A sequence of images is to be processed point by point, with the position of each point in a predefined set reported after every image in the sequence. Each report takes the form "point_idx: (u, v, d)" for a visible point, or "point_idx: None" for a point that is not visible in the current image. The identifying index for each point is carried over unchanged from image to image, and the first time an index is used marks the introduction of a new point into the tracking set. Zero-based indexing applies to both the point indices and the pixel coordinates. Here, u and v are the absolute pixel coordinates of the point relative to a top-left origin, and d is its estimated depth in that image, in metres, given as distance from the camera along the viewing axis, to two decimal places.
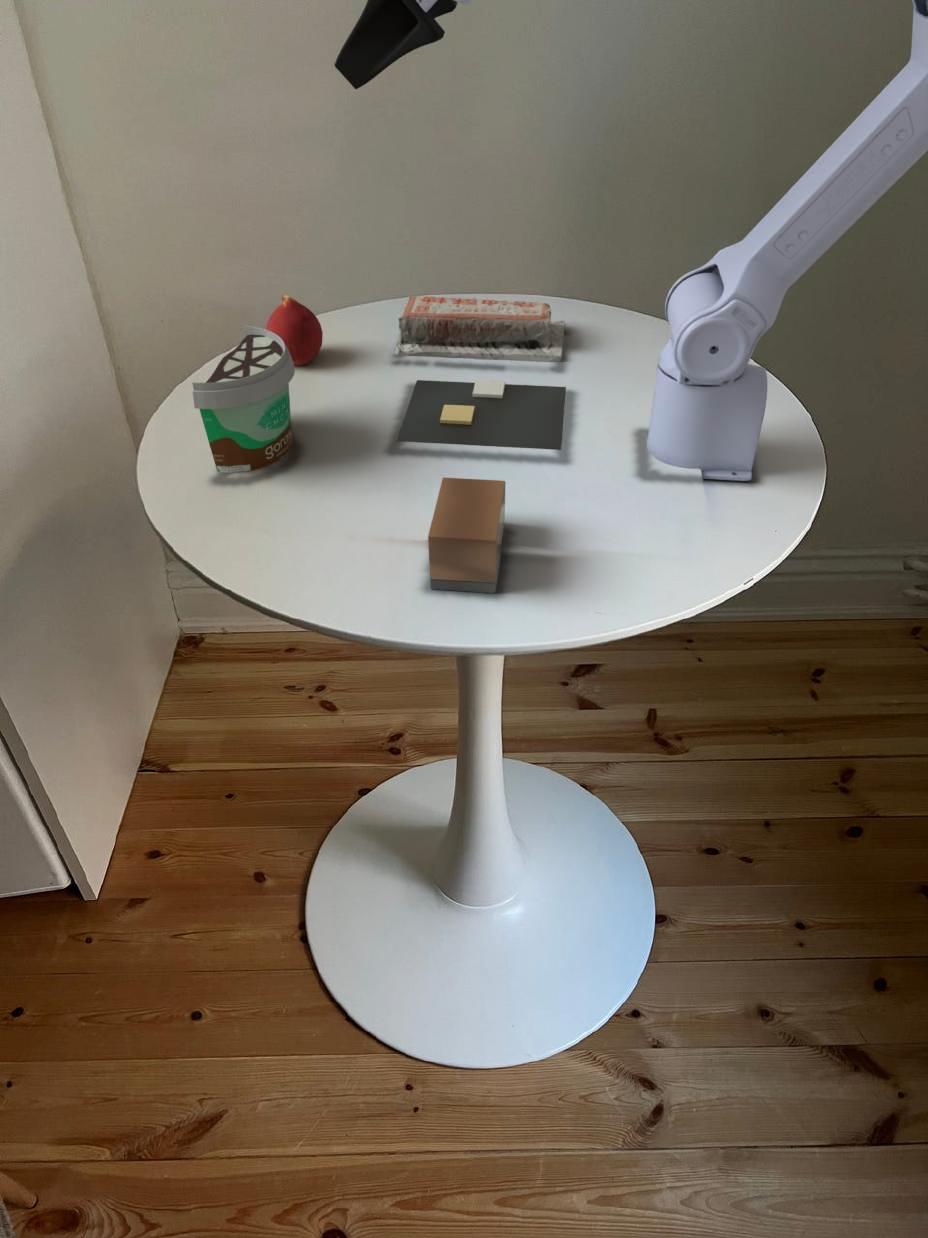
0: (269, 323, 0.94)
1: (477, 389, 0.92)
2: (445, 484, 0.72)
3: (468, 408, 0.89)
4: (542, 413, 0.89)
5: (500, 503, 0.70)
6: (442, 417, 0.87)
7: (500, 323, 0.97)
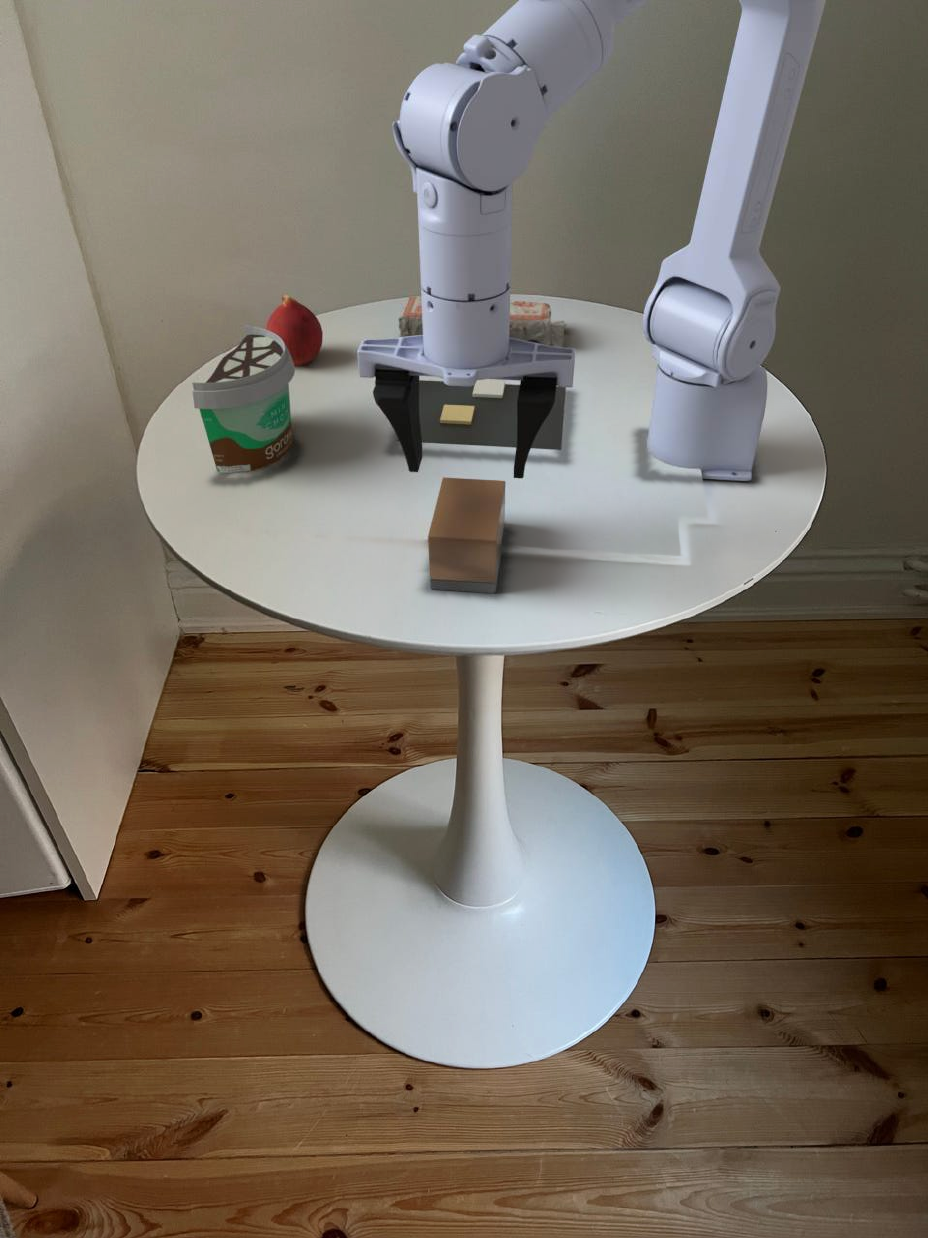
0: (269, 323, 0.94)
1: (477, 389, 0.92)
2: (445, 484, 0.72)
3: (468, 408, 0.89)
4: None
5: (500, 503, 0.70)
6: (442, 417, 0.87)
7: None
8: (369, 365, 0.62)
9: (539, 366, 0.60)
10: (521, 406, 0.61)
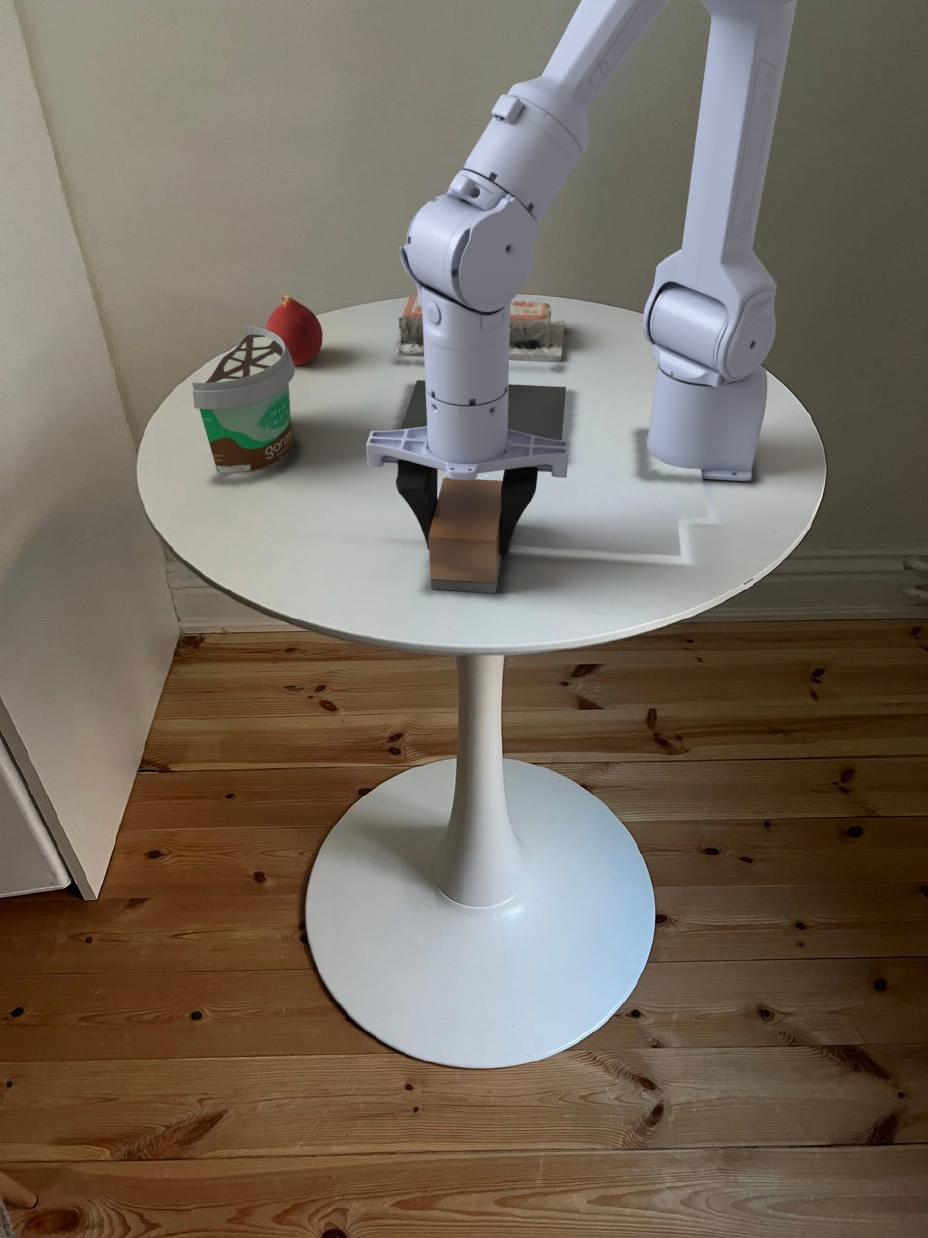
0: (269, 323, 0.94)
1: None
2: (446, 484, 0.72)
3: None
4: (542, 413, 0.89)
5: None
6: None
7: None
8: (377, 456, 0.67)
9: (535, 459, 0.65)
10: (504, 495, 0.65)
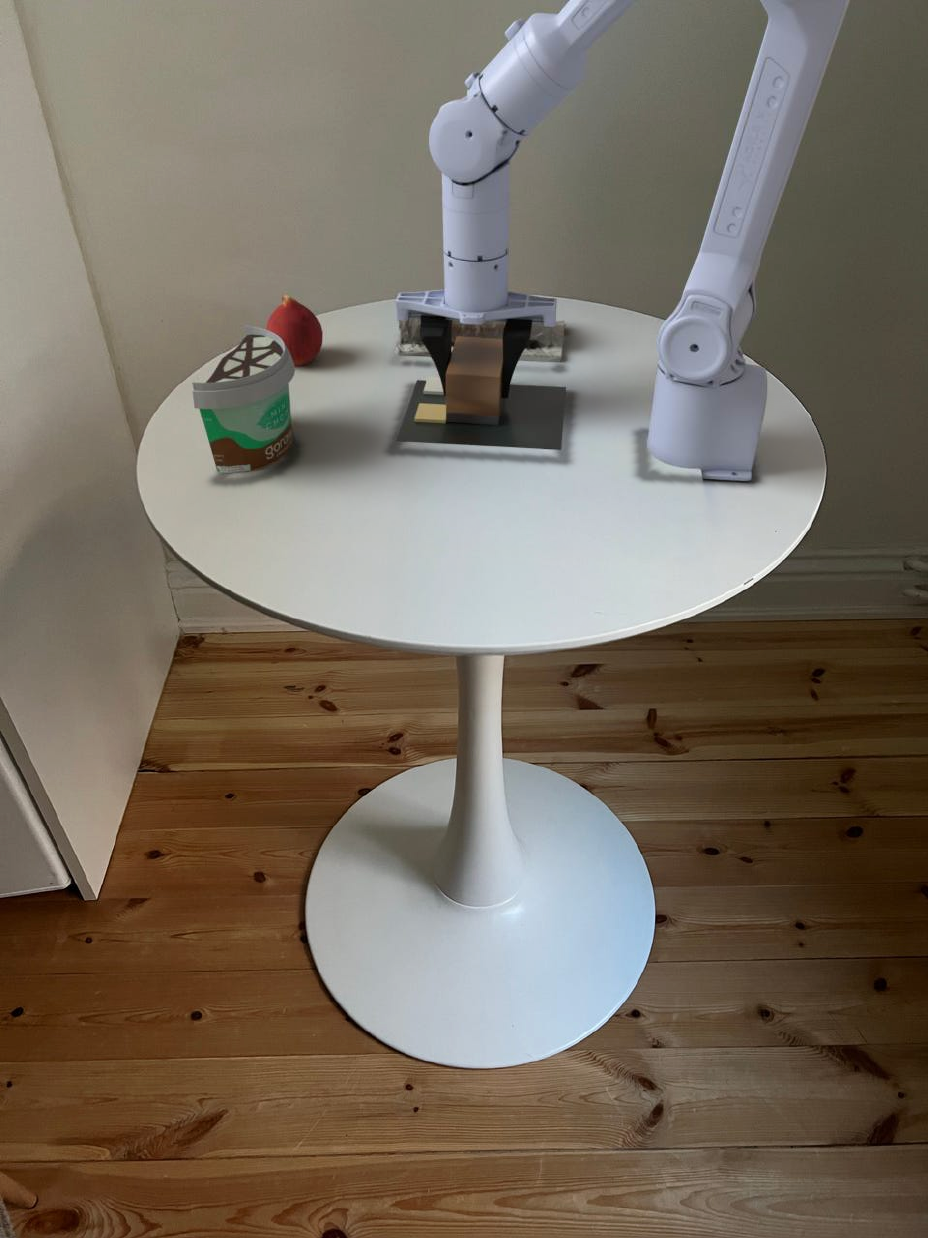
0: (269, 323, 0.94)
1: (428, 386, 0.92)
2: (459, 340, 0.89)
3: (443, 407, 0.89)
4: (542, 413, 0.89)
5: None
6: (416, 416, 0.88)
7: (500, 323, 0.97)
8: (404, 311, 0.84)
9: (530, 310, 0.82)
10: (505, 340, 0.82)
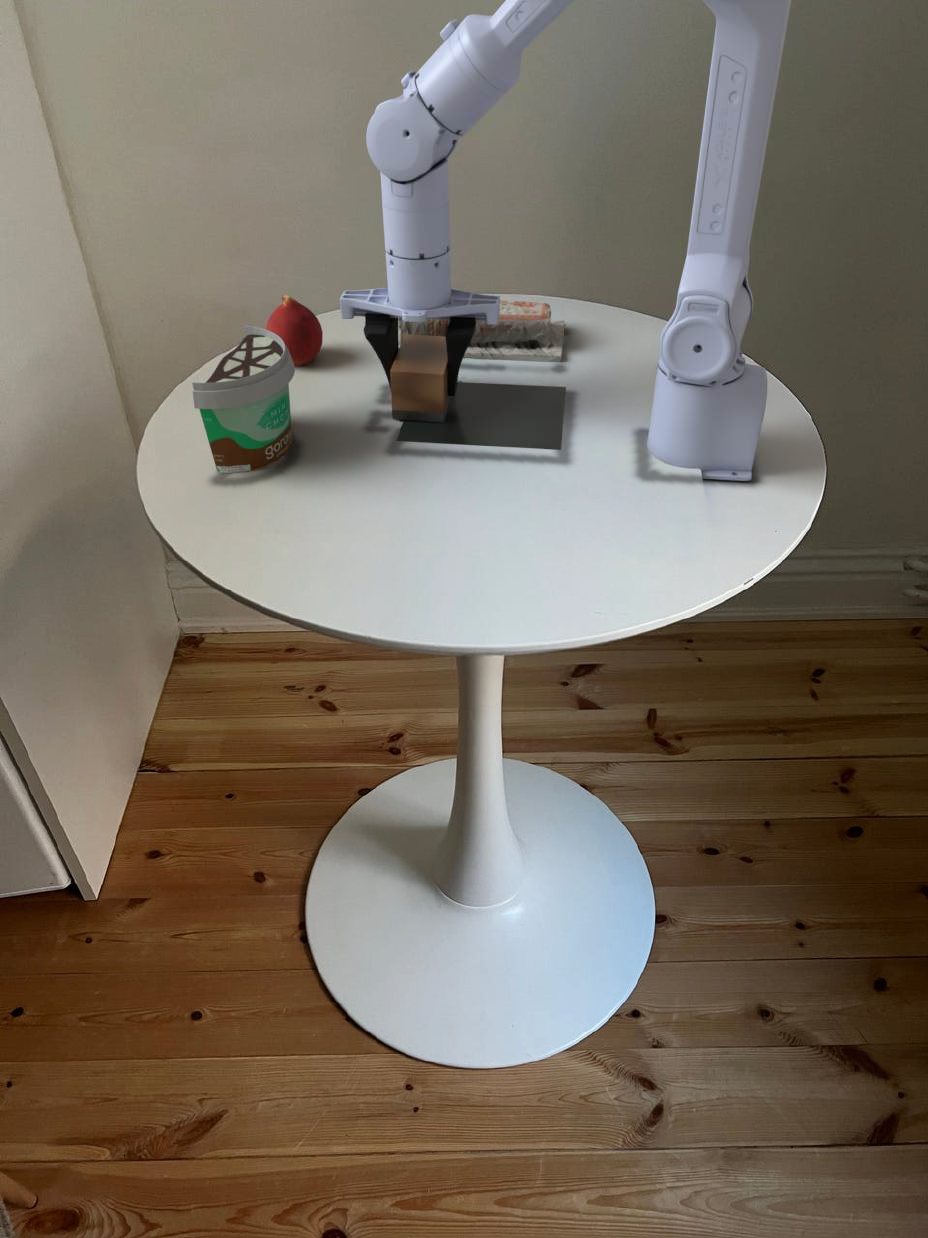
0: (269, 323, 0.94)
1: None
2: (406, 338, 0.90)
3: None
4: (542, 413, 0.89)
5: None
6: None
7: (500, 323, 0.97)
8: (348, 309, 0.84)
9: (472, 308, 0.82)
10: (448, 337, 0.83)
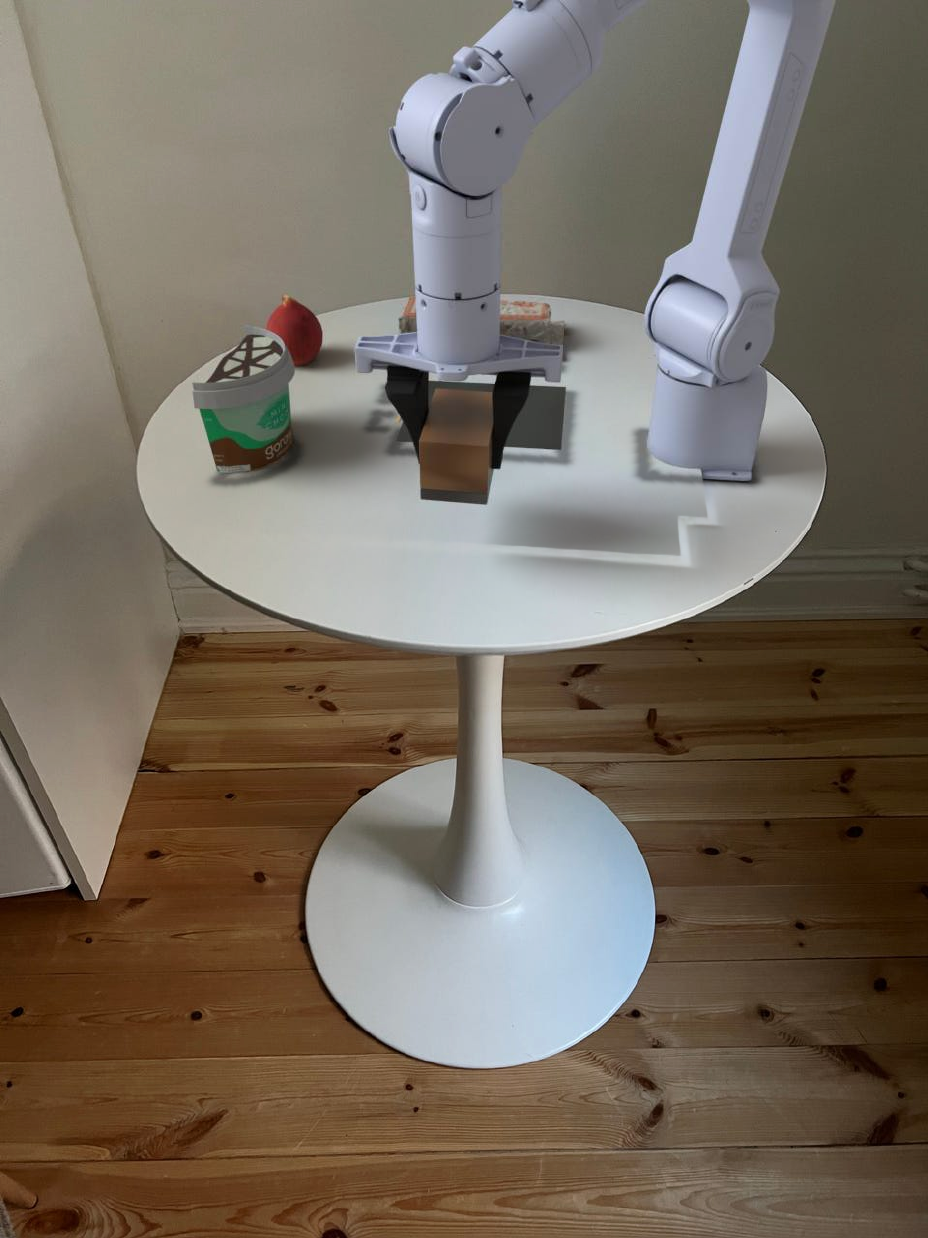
0: (269, 323, 0.94)
1: None
2: (438, 394, 0.70)
3: None
4: (542, 413, 0.89)
5: None
6: None
7: (500, 323, 0.97)
8: (366, 361, 0.65)
9: (528, 362, 0.63)
10: (496, 399, 0.63)
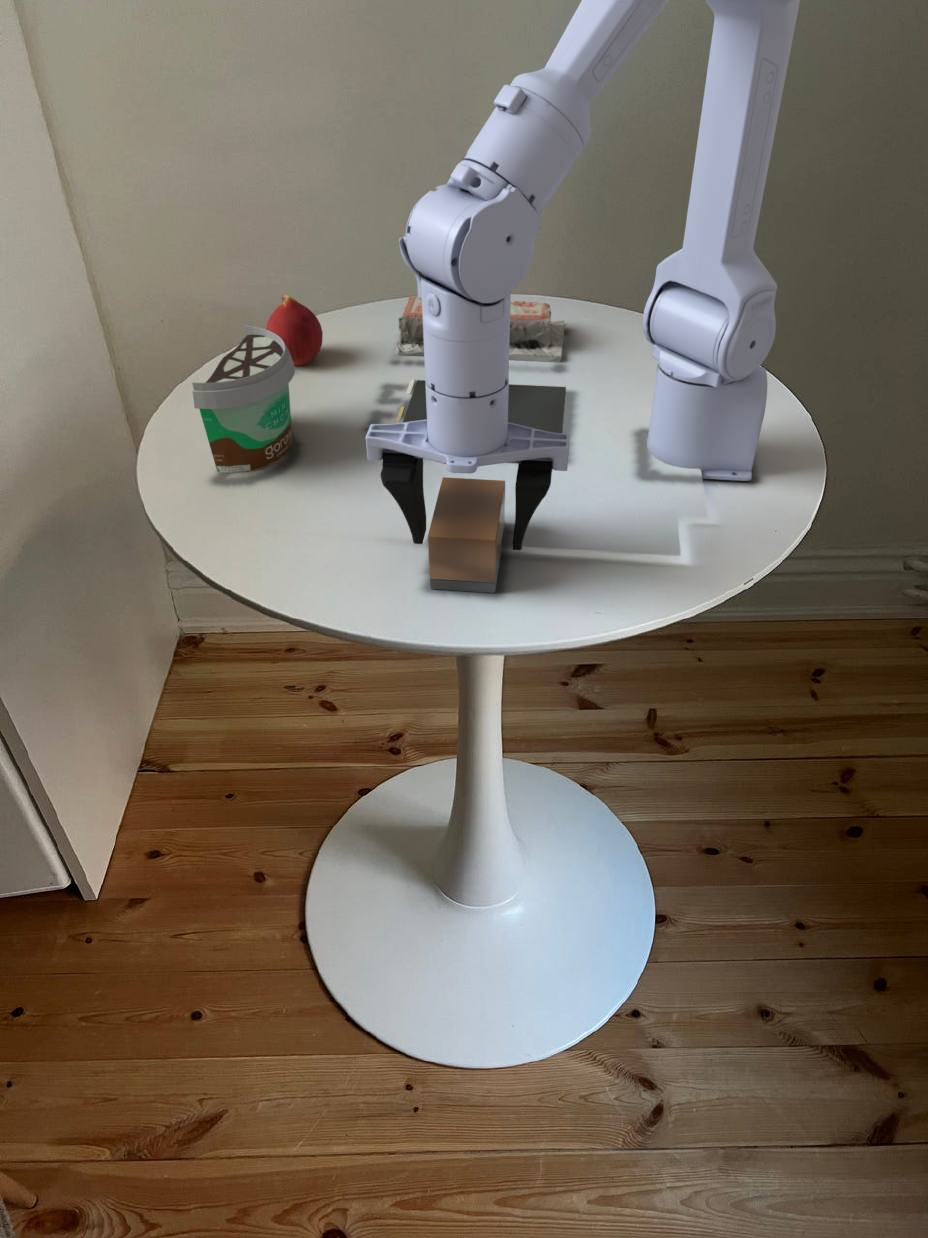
0: (269, 323, 0.94)
1: None
2: (445, 484, 0.72)
3: None
4: (542, 413, 0.89)
5: (500, 503, 0.70)
6: None
7: None
8: (377, 450, 0.66)
9: (536, 453, 0.64)
10: (519, 489, 0.65)
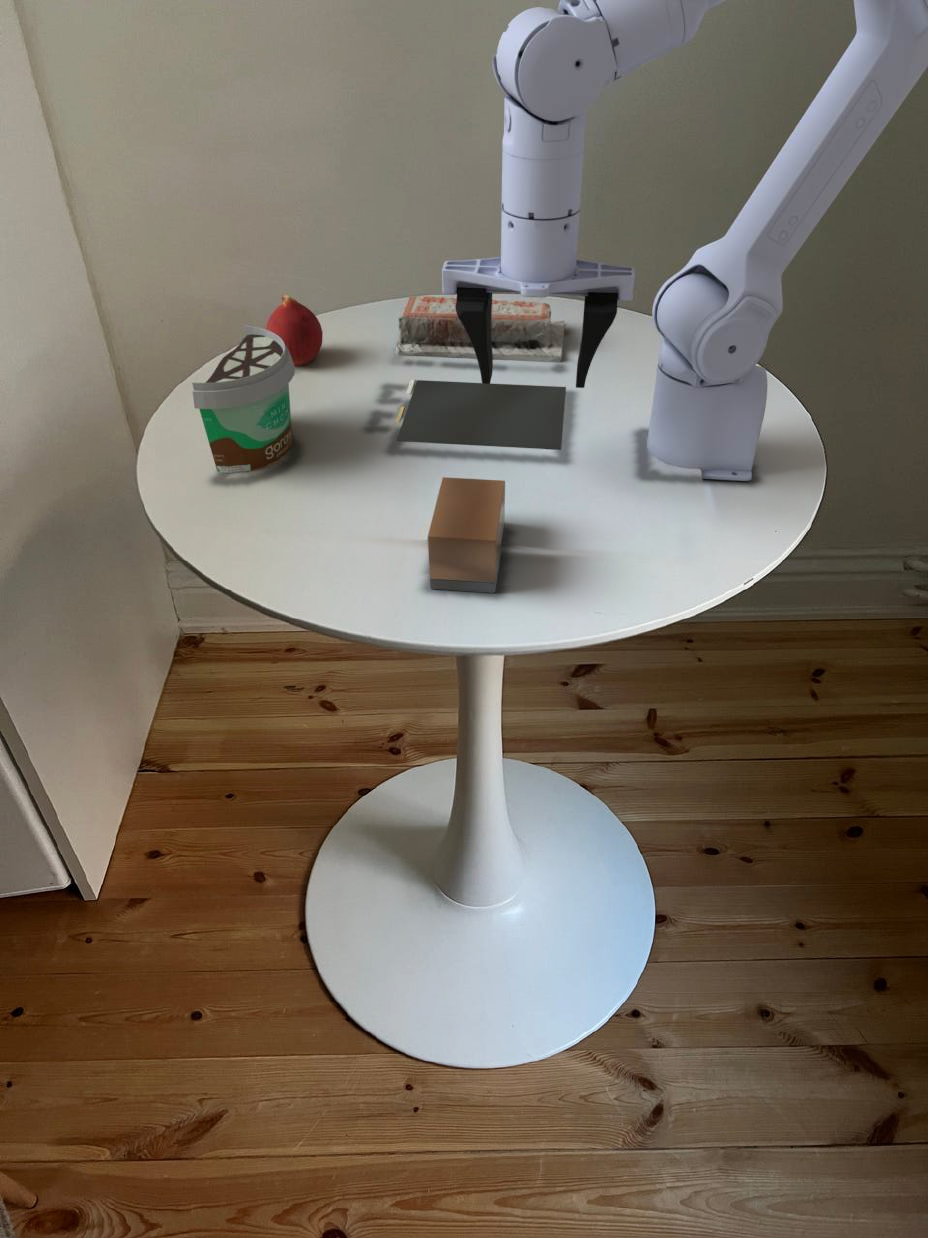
0: (269, 323, 0.94)
1: None
2: (445, 484, 0.72)
3: None
4: (542, 413, 0.89)
5: (500, 503, 0.70)
6: None
7: (500, 323, 0.97)
8: (452, 283, 0.70)
9: (604, 281, 0.68)
10: (587, 317, 0.69)
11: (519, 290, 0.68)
